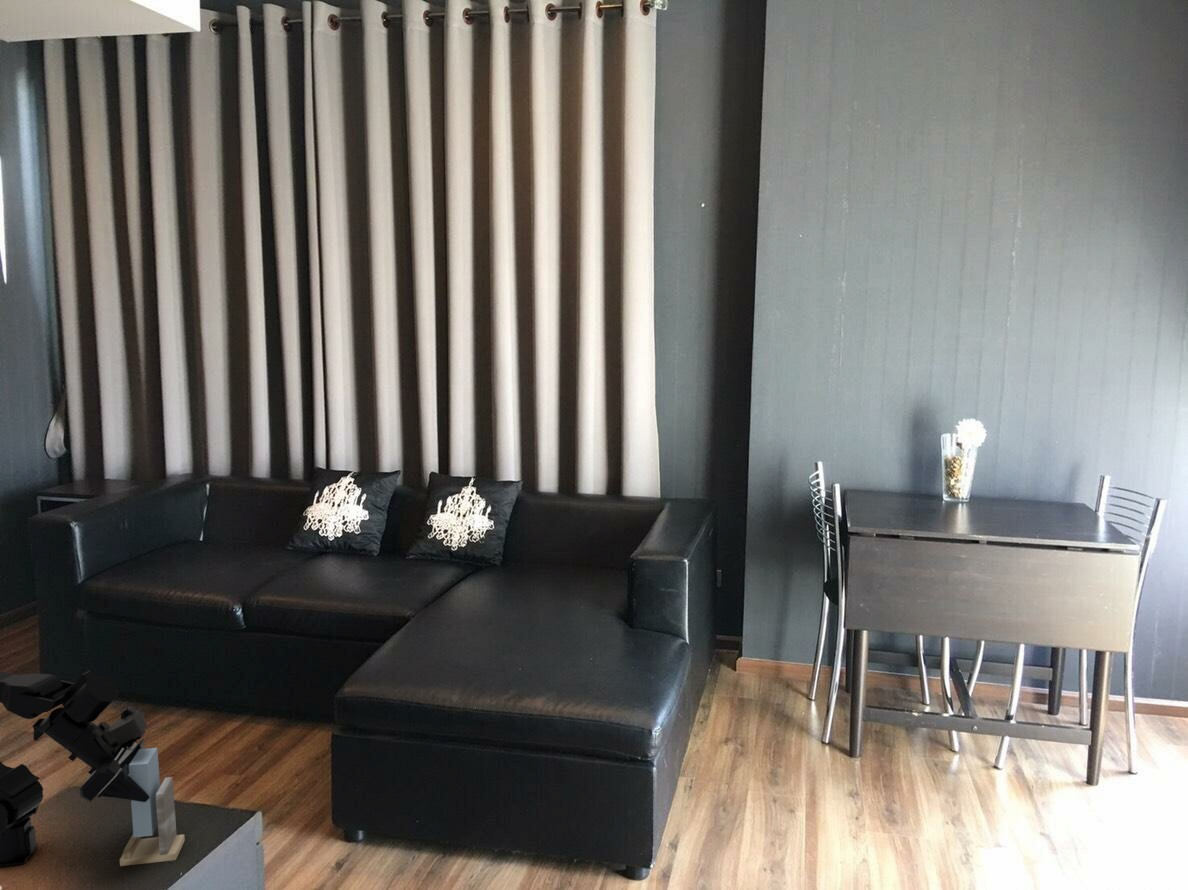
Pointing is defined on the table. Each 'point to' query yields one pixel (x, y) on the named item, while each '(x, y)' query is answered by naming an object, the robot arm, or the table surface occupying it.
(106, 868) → the table surface
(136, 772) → the book
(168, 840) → the book stand
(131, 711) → the robot arm
